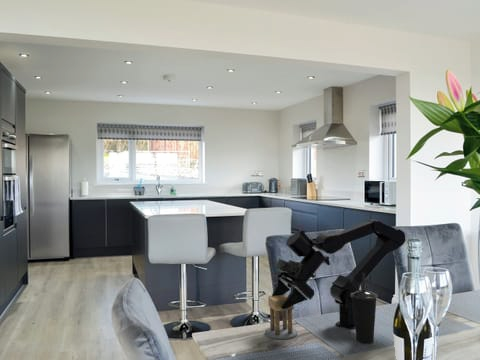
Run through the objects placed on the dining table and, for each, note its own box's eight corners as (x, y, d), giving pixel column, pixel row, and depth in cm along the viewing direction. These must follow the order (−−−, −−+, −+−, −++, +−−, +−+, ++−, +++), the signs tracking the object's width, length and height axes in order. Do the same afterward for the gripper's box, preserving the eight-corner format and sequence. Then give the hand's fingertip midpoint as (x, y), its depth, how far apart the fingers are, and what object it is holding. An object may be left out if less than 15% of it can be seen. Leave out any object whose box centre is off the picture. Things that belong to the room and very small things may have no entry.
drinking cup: (348, 343, 123) (347, 274, 123) (354, 334, 130) (353, 269, 130) (375, 347, 119) (374, 276, 119) (380, 338, 126) (379, 271, 126)
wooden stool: (286, 327, 135) (285, 294, 135) (294, 333, 129) (293, 299, 130) (268, 329, 133) (268, 296, 134) (275, 336, 128) (275, 301, 128)
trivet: (277, 325, 139) (277, 324, 139) (303, 332, 132) (303, 330, 132) (258, 334, 131) (258, 332, 131) (285, 341, 124) (285, 339, 124)
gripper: (279, 245, 142) (249, 281, 139) (304, 254, 124) (269, 295, 121) (301, 267, 144) (272, 302, 141) (328, 278, 126) (295, 319, 123)
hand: (276, 304), depth 131 cm, fingers open, 9 cm apart
